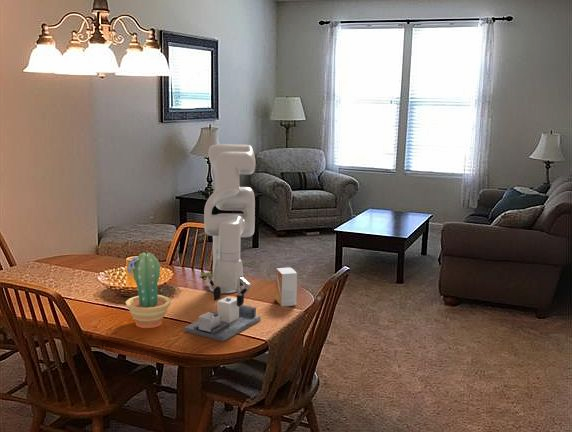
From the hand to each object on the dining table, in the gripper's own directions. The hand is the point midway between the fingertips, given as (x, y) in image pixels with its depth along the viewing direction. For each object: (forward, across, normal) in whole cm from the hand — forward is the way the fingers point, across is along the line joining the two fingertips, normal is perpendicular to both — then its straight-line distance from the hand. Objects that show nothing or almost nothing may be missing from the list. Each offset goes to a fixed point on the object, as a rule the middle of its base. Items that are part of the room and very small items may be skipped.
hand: (228, 302), depth 220 cm
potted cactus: (+8, -22, -16) cm, 29 cm away
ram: (+5, +1, -11) cm, 12 cm away
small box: (+8, +7, +30) cm, 32 cm away
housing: (+6, 0, -1) cm, 6 cm away
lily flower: (+10, -37, +41) cm, 56 cm away
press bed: (+7, +1, -4) cm, 8 cm away
